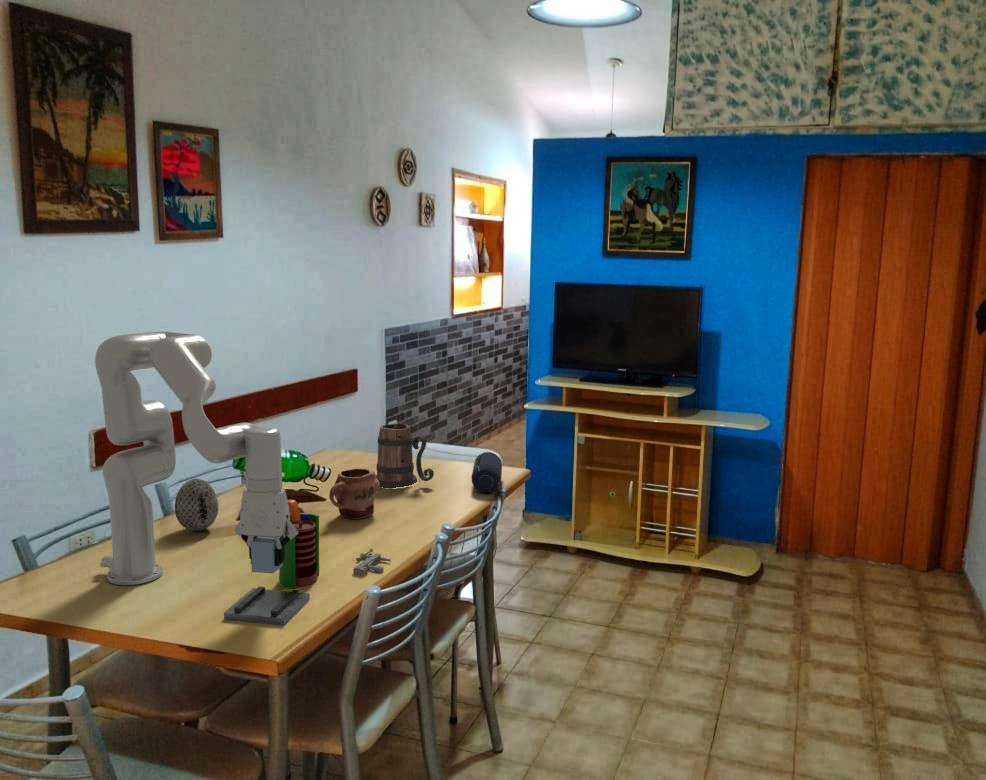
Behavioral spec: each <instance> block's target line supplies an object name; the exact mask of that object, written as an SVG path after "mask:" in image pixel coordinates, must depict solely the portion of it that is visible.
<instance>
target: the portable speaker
mask: <svg viewBox="0 0 986 780" xmlns="http://www.w3.org/2000/svg"><path fill="white" fill-rule="evenodd" d="M473 462H474V463H473V467H472V473H471V483H472V486H473V487H474V488H475V489H476V490H477V491H478V492H479V491H481V492H480V493H482V492H492V493H494V492H495V491H496V490H498V488H499V487H500V484H501V482H502V474H503V472H502V471H503V463H502V460H501V458H500V457H499V456H498V455H497V454H496V453H494V452H491V451H484V452H482V453H480V454H479V455H478V456H477V457H476V458H475V460H474V461H473ZM493 491H494V492H493Z"/></svg>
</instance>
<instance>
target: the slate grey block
mask: <svg viewBox="0 0 986 780" xmlns="http://www.w3.org/2000/svg"><path fill="white" fill-rule="evenodd" d="M275 549H276V544H275V541H274V538H273V537H256V538H255V539H254V540H252V541H251V559H250V563H251V562H252V564H251V572H252V573H259V574H260V573H261V574H262V573H263V574H271V575H273V574H274V573H276V572H277V571H278V570H279V568H280V567H282V566H283V563H282V564H280V565H279V566H275Z"/></svg>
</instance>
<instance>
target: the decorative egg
mask: <svg viewBox="0 0 986 780" xmlns="http://www.w3.org/2000/svg"><path fill="white" fill-rule="evenodd" d="M174 502H175V503H174V512H175V513H174V514H175V517H176V519H177V521H178V523H179V524H180V525H181V526H182V527H183V528H185V529H186V530H189V531H192V532H201V531H204V530H206V529H208V528H209V527H211V526H212V525H213V524H214V522H215V521H216V519H217V516H218V513H219V500H218V496H217V493H216V491H215V490H214V488H213V487H212V485H210V484H209V483H208V482H207V481H205V480H203V479H200V478H192V479H190V480H188V481H186V482H185V483H184V484H182V486H181V487H180V488H179V490H178V492H177V494H176V497H175V500H174Z"/></svg>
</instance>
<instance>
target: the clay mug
mask: <svg viewBox="0 0 986 780" xmlns="http://www.w3.org/2000/svg"><path fill="white" fill-rule="evenodd" d="M376 475H377V473H376V472H375V470H373V469H370V468H351V469H346V470H343V471H340V472H339V473H338V474H337V478H336V480H335V482H334V484H333V485H332V486H331V488H330V490H329V498H328V499H329V500H330V501H331V503H332V505H333V506H334V507H336V508H338V512H339V514H340V516H341V517H342V518H344V519H350V520H359V519H360V520H361V519H365V518H368V517H371V516H372V515H373V514H374V513H375V505H374V504H375V498H376V496H377V494H378V493H379V490H380V489H381V488H380V483H379V481H378V480H377V477H376Z"/></svg>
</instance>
